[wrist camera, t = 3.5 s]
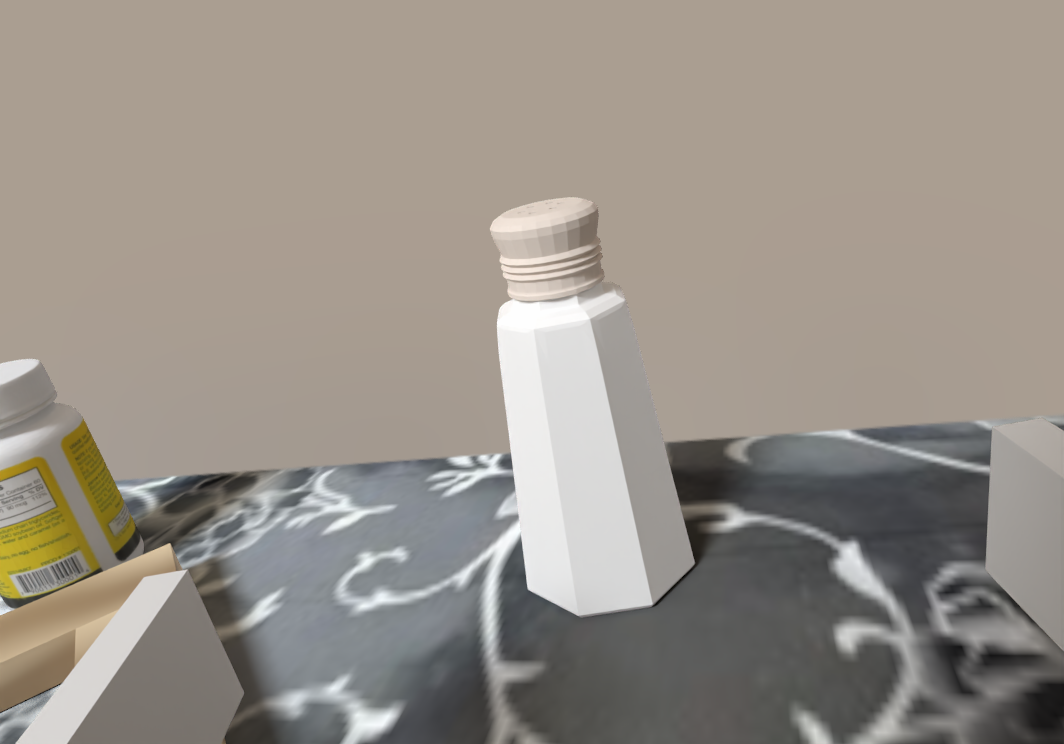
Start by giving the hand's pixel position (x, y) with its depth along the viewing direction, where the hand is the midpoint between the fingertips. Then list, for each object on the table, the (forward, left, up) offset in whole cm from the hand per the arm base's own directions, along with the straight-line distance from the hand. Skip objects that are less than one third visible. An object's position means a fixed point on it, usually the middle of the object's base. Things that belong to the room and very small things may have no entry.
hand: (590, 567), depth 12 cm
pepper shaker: (+7, -5, -7) cm, 11 cm away
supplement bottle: (+21, +10, -7) cm, 25 cm away
